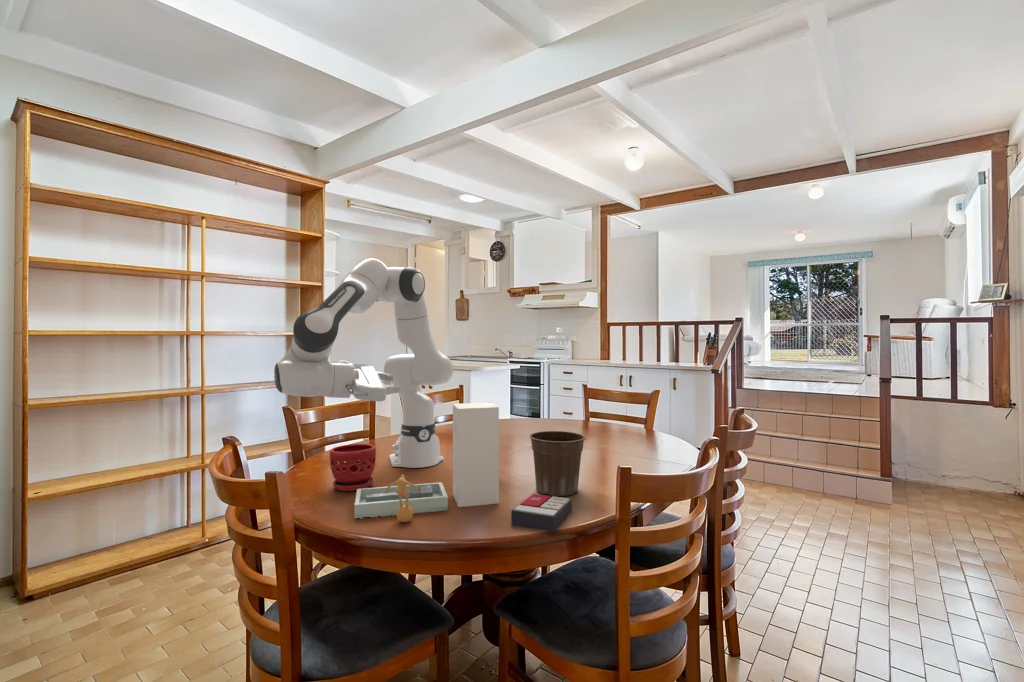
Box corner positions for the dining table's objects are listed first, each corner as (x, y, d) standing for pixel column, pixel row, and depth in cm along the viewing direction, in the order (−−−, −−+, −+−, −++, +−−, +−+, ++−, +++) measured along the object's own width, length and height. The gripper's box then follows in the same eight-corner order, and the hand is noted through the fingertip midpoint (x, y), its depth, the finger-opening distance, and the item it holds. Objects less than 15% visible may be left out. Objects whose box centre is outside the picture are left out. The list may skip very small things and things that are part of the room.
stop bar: (366, 500, 128) (366, 489, 128) (430, 495, 133) (430, 484, 133) (365, 509, 122) (365, 498, 122) (432, 503, 126) (432, 492, 126)
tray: (357, 501, 131) (357, 488, 131) (441, 494, 137) (441, 482, 136) (354, 519, 118) (354, 504, 118) (447, 510, 124) (447, 496, 124)
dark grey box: (572, 497, 124) (554, 514, 110) (572, 514, 124) (554, 532, 110) (532, 492, 128) (510, 507, 115) (532, 508, 128) (510, 525, 114)
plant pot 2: (568, 479, 151) (568, 428, 150) (596, 495, 136) (596, 438, 136) (520, 486, 144) (520, 432, 144) (544, 503, 129) (544, 443, 129)
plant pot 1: (384, 483, 148) (384, 444, 147) (355, 496, 135) (355, 453, 135) (350, 478, 152) (350, 440, 152) (319, 490, 140) (319, 449, 140)
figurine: (423, 518, 118) (423, 470, 118) (417, 528, 112) (417, 477, 112) (390, 518, 119) (390, 469, 118) (382, 527, 113) (382, 476, 112)
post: (453, 495, 136) (452, 403, 136) (490, 491, 139) (490, 402, 139) (458, 507, 126) (458, 408, 126) (498, 503, 129) (498, 407, 129)
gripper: (350, 382, 115) (407, 384, 121) (340, 358, 132) (390, 361, 139) (347, 406, 116) (403, 408, 122) (337, 380, 134) (386, 382, 140)
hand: (396, 383), depth 131 cm, fingers open, 8 cm apart
